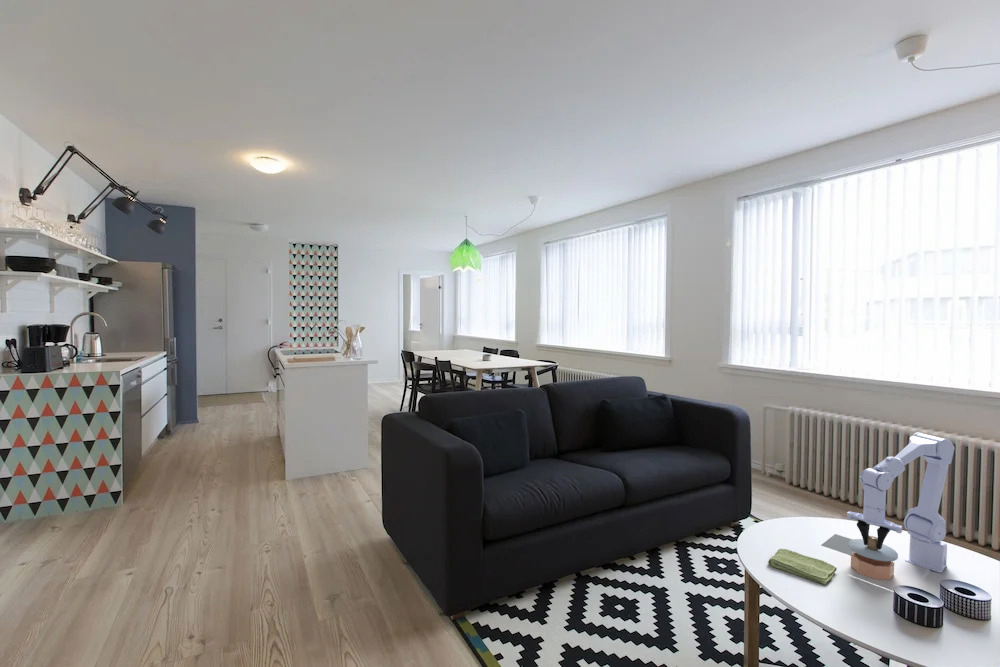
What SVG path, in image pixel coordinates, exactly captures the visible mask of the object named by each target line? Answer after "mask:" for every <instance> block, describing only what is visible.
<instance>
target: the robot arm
mask: <svg viewBox="0 0 1000 667" xmlns="http://www.w3.org/2000/svg"><path fill="white" fill-rule="evenodd" d="M954 452H955V445H954V444H953V441H951V440H950V439H948V438H943V437H938V436H935V435H931V434H926V433H922V432H915V433H913V434H912V436H910V437H909V440H908V444H907V445H906V446H905V447H904V448H902V450H901V451H899V452H898V453H897V454H896V455H895V456H886V457H885V458H884V459H883V460H882V461H880V462H878V463H877V464H876V465H874V467H872V468H870V467H869V468H866V469H863V470H862V471H861V474H860V476H859V480H860V483H861V486H862V488H861V489H862V490H863V508H862V510H863V512H862V513H859V512H854V511H850V510H848V511H847V512H846V519H849V520H851V519H852V520H855V521H857V523H856V527H857V528H858V529H859V532H860V534H861V536H862V537H861V539H863V541H864V545H867V538H868V536H870V535H869V534H870V526H876V527H878V528H877V529H876V533H877V534H876V535H877V538H878V543H877V549H879V550H880V549H881V548H882V544H884V541H885V539H886V537H887V536H888V534H889V532H890V531H893V532H896V533H897V534H902V533H903V526H904V528H905V529H906V530H907V534H908V535H909V553H908V556H907V557H906V558H905V560H904V561H905V562H907V563H909V564H912V565H916V566H919V567H922V568H925V569H928V570H930V571H934V572H936V573H940V574H942V573H943V571H945V569H946V567H947V566H948V565H947V559H948V545H947V543H945V542H942V541H943V540H944V539H945V537H946V535H947V531H946V524H947V521H946V520H945V519H944V518H943V517H942V515H941V514H939V508H940V505H941V499H942V495H943V490H944V486H945V482H946V478H947V474H948V469H949V465H951V464H952V461H953V457H954ZM919 457H922V458H924V460H925V462H927V463H926V469H925V473H924V477H923V481H922V485H921V489H920V493H919V494H920V495H919V499H918V503H917V506H915V507H912V508H909V509H908V512H907V513H906V514H907V515H906V516H905V517H904V520H903V526H902V525H899V524H897V523H894V522H892V521H889V520H887V519H886V502H887V501H886V500H887V490H889V489H890V488H891V485H892V483H893V482H894V480H895V478H897V477H898V476H899V475H901V474H902V473H904V471H905V470H906V467H905V466H906V465H908V464H909V463H911V462H912V461H914V460H916V459H918V458H919Z"/></svg>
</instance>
